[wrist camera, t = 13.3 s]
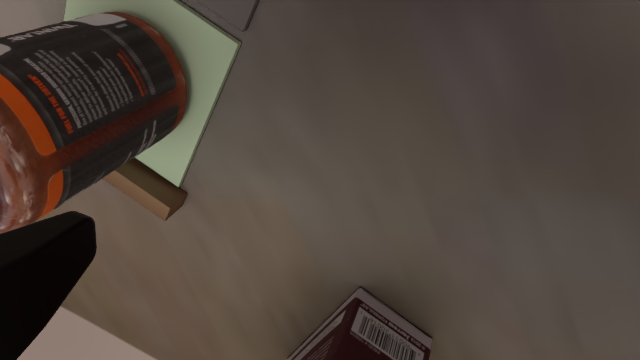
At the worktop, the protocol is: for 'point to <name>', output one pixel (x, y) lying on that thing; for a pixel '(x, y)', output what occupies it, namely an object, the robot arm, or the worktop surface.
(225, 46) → the pad
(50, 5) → the worktop surface
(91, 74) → the supplement bottle
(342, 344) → the supplement box
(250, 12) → the pads
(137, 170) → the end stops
